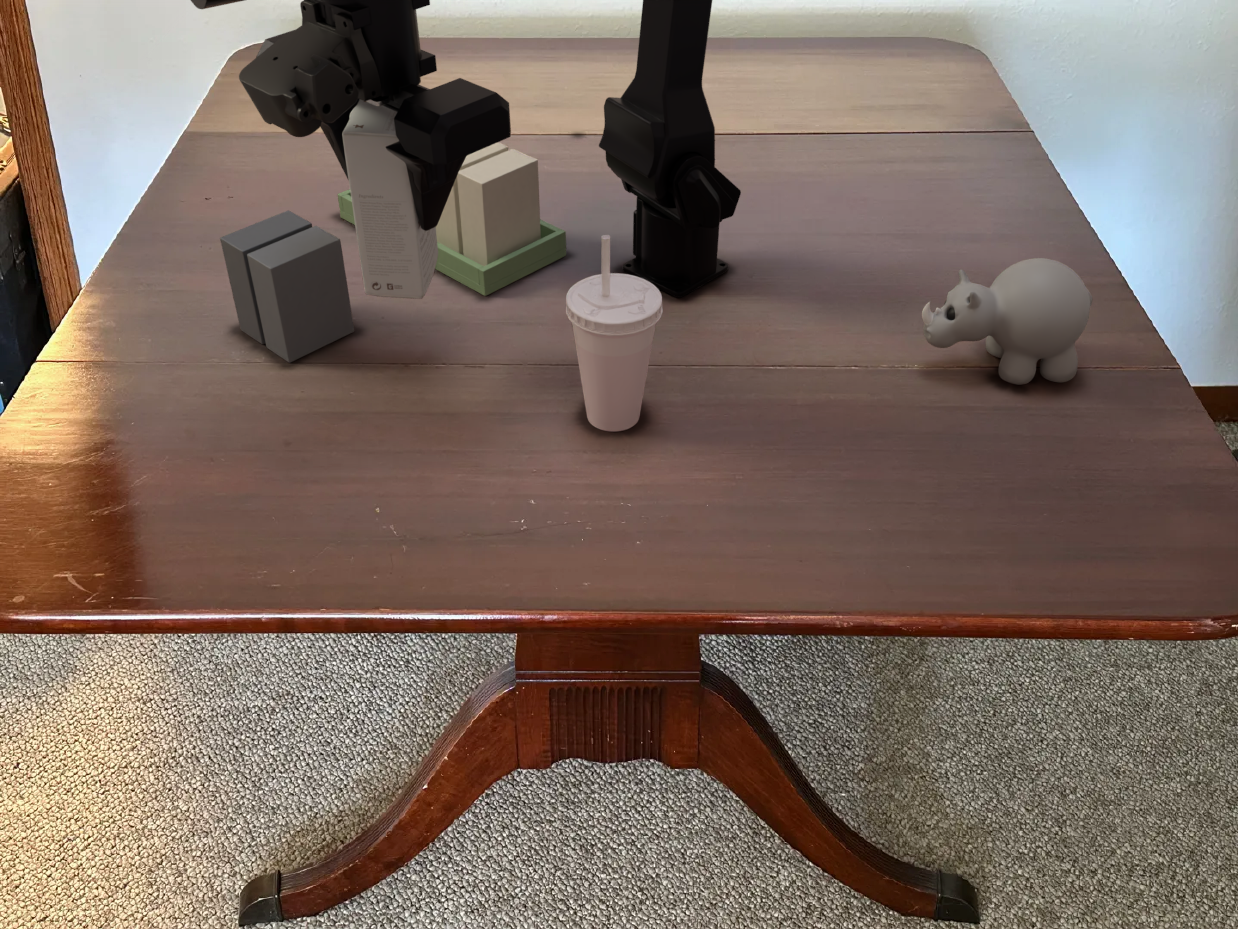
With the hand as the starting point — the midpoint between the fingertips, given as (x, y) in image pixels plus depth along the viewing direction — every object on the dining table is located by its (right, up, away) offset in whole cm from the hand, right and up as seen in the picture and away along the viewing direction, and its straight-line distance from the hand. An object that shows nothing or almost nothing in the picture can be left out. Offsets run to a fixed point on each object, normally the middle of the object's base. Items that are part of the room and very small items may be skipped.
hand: (395, 210), depth 82 cm
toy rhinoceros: (+43, -10, +9) cm, 45 cm away
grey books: (-10, -7, +11) cm, 16 cm away
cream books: (+4, +1, +21) cm, 21 cm away
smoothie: (+15, -14, +3) cm, 20 cm away
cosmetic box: (0, -4, +4) cm, 5 cm away
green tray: (0, +3, +23) cm, 23 cm away
